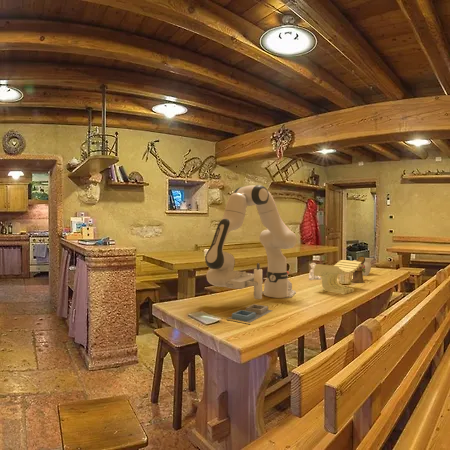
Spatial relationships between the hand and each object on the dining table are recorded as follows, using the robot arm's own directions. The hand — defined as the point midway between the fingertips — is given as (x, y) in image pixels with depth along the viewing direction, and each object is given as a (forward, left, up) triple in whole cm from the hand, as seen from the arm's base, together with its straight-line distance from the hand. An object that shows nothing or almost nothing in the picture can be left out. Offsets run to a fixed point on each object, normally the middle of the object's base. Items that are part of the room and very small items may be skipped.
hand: (259, 282), depth 179 cm
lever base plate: (+7, -1, -15) cm, 16 cm away
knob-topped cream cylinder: (0, -1, -8) cm, 8 cm away
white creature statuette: (-105, -9, -15) cm, 107 cm away
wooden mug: (-115, +21, -15) cm, 118 cm away
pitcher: (-147, +17, -15) cm, 149 cm away
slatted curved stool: (-75, +17, -15) cm, 79 cm away
